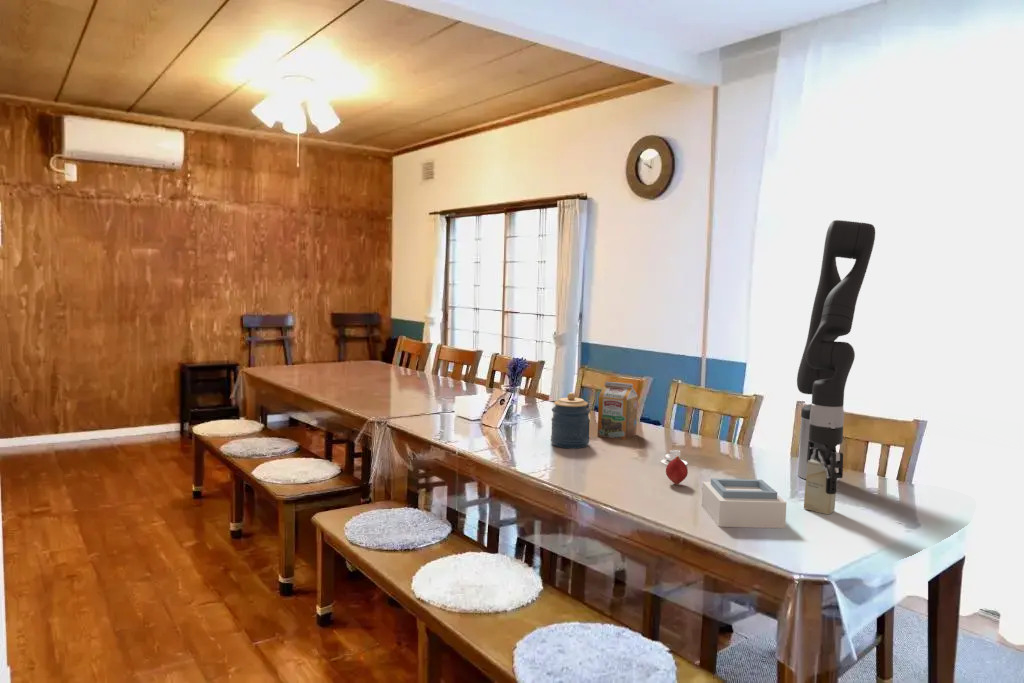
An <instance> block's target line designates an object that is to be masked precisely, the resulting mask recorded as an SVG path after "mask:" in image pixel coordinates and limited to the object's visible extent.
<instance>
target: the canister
mask: <svg viewBox="0 0 1024 683" xmlns="http://www.w3.org/2000/svg"><path fill="white" fill-rule="evenodd" d="M554 405H555V406H554V407H552V408H551V411H552V417H551V434H550V435H551V436H550V441H551V444H552V445H553V446H554V447H558V448H561V449H562V448H563V449H582V448H586V447H588V446H589V445H590V438H591V437H590V422H591V419H590V417H589V415H590V413H591V409H590V408H588V405H589V402H588V401H586V400H584V399H583V398H581V397H576V395H575V393H574V392H569V393H567V397H560V398H558V399H557V400H555V401H554Z"/></svg>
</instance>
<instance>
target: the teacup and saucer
mask: <svg viewBox="0 0 1024 683" xmlns="http://www.w3.org/2000/svg"><path fill="white" fill-rule="evenodd" d="M676 456H679V458H681V450H679V449H670V450H669V453H666V454H665V456H664V458H665V459H662V460H661V461H660V462H661V463H662V464H663V465H666V466H667V465H668V464H669V463H666V462H667V461H669V462H670V461H671V460H673V459H675V458H676ZM681 460H682V461H683V462H684V463H685V465H686V466H687V465H688V464H689V463H688V462H687V460H683V459H681Z"/></svg>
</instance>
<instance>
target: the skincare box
mask: <svg viewBox="0 0 1024 683" xmlns="http://www.w3.org/2000/svg"><path fill="white" fill-rule="evenodd" d="M837 470H838V469H837ZM829 471H830V470H829ZM826 478H827V476H826V472H825V470H823V468H822V464H821V463H820V462H819V461H817V459H815V460H813V459H810V460H808V463H807V474H806V479H805V488H804V501H803V509H805V510H808V511H812V512H817V513H820V514H824V515H830V514H831V513H833V512H835V508H836V496H837V493H836V494H827V493H826ZM837 485H838V484H837ZM837 485H836V488H837Z"/></svg>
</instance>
